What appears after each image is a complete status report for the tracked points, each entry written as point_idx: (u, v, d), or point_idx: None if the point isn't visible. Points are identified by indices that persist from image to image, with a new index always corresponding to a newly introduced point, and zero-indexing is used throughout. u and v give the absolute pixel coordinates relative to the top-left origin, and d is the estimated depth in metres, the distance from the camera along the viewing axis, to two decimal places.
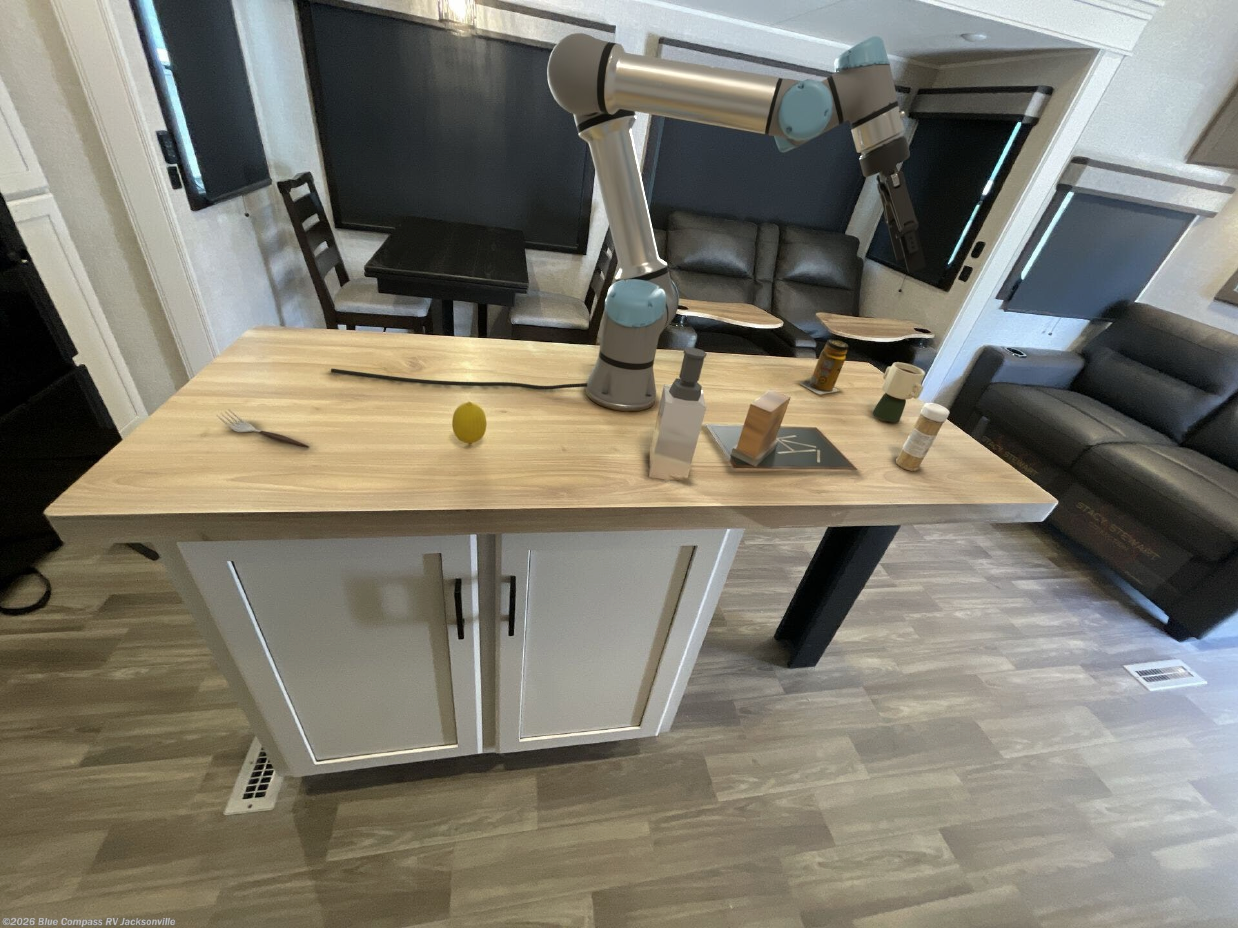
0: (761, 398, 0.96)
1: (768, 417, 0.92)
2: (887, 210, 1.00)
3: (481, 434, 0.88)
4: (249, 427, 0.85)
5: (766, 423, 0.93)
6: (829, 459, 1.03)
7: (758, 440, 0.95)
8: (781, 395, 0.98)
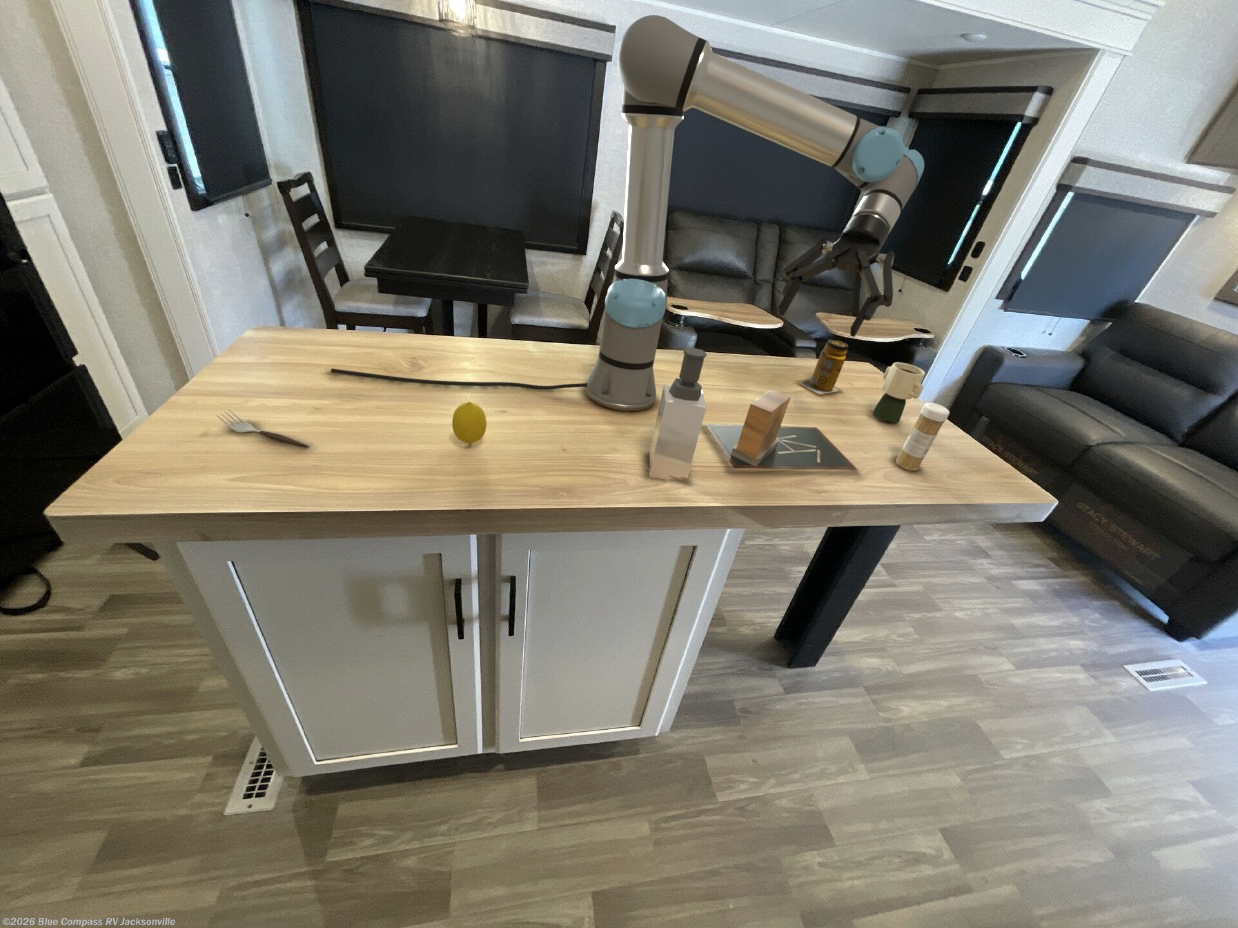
0: (761, 398, 0.96)
1: (768, 417, 0.92)
2: (816, 267, 0.99)
3: (481, 434, 0.88)
4: (249, 427, 0.85)
5: (766, 423, 0.93)
6: (829, 459, 1.03)
7: (758, 440, 0.95)
8: (781, 395, 0.98)
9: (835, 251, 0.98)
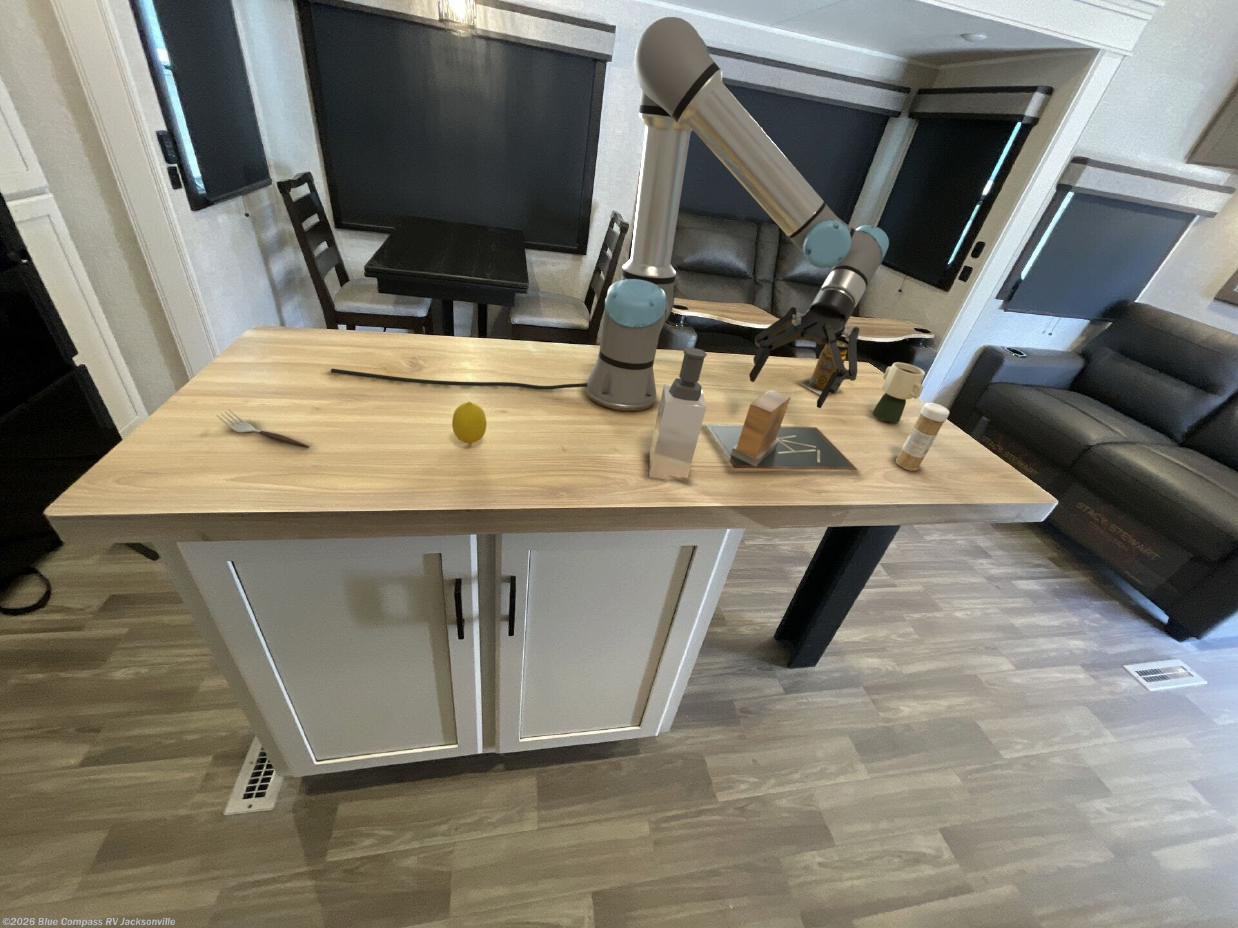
0: (761, 398, 0.96)
1: (768, 417, 0.92)
2: (786, 337, 1.02)
3: (481, 434, 0.88)
4: (249, 427, 0.85)
5: (766, 423, 0.93)
6: (829, 459, 1.03)
7: (758, 440, 0.95)
8: (781, 395, 0.98)
9: (804, 323, 1.01)
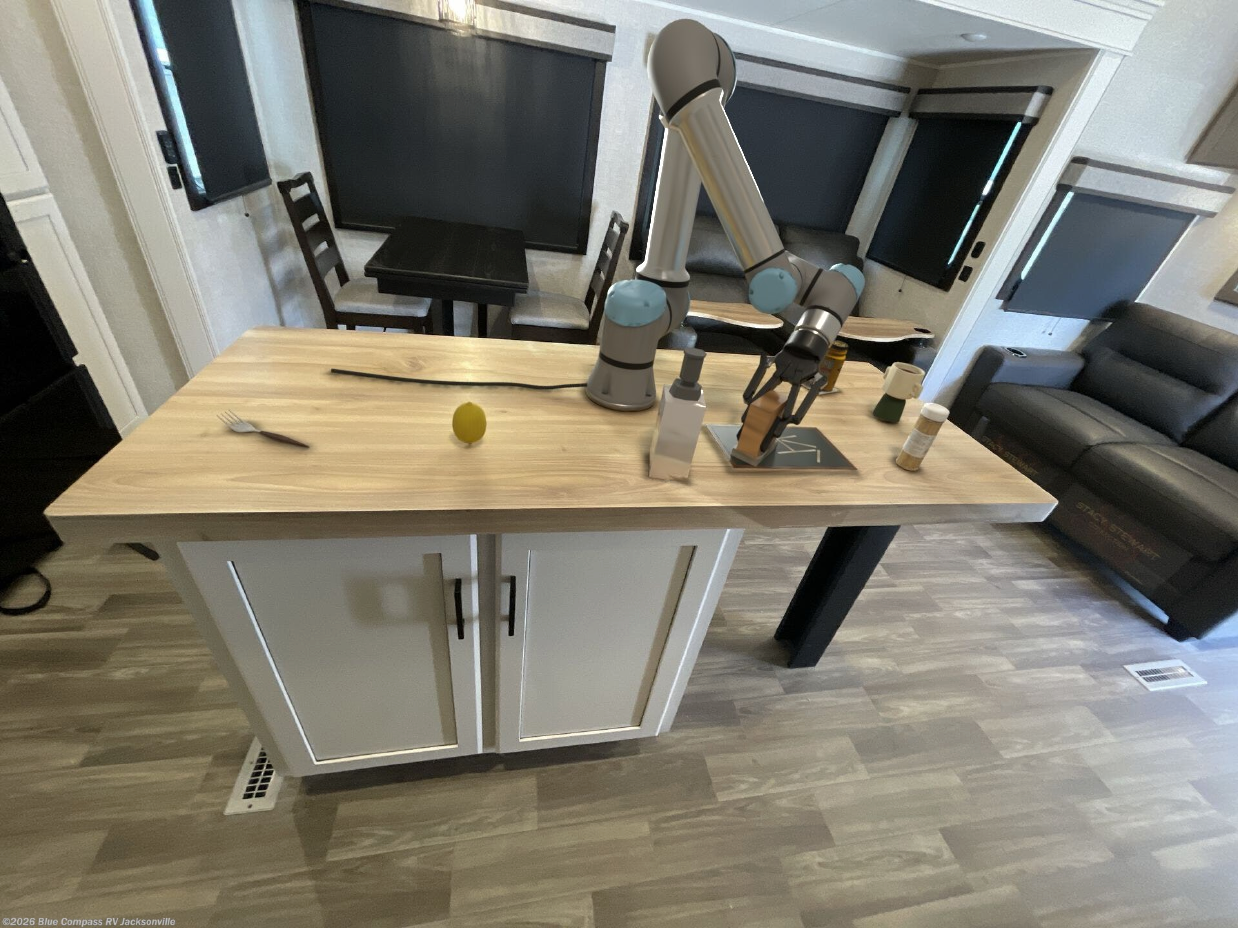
0: (761, 398, 0.96)
1: (768, 417, 0.92)
2: (769, 387, 0.98)
3: (481, 434, 0.88)
4: (249, 427, 0.85)
5: (766, 423, 0.93)
6: (829, 459, 1.03)
7: (758, 440, 0.95)
8: (781, 395, 0.98)
9: (779, 368, 0.98)
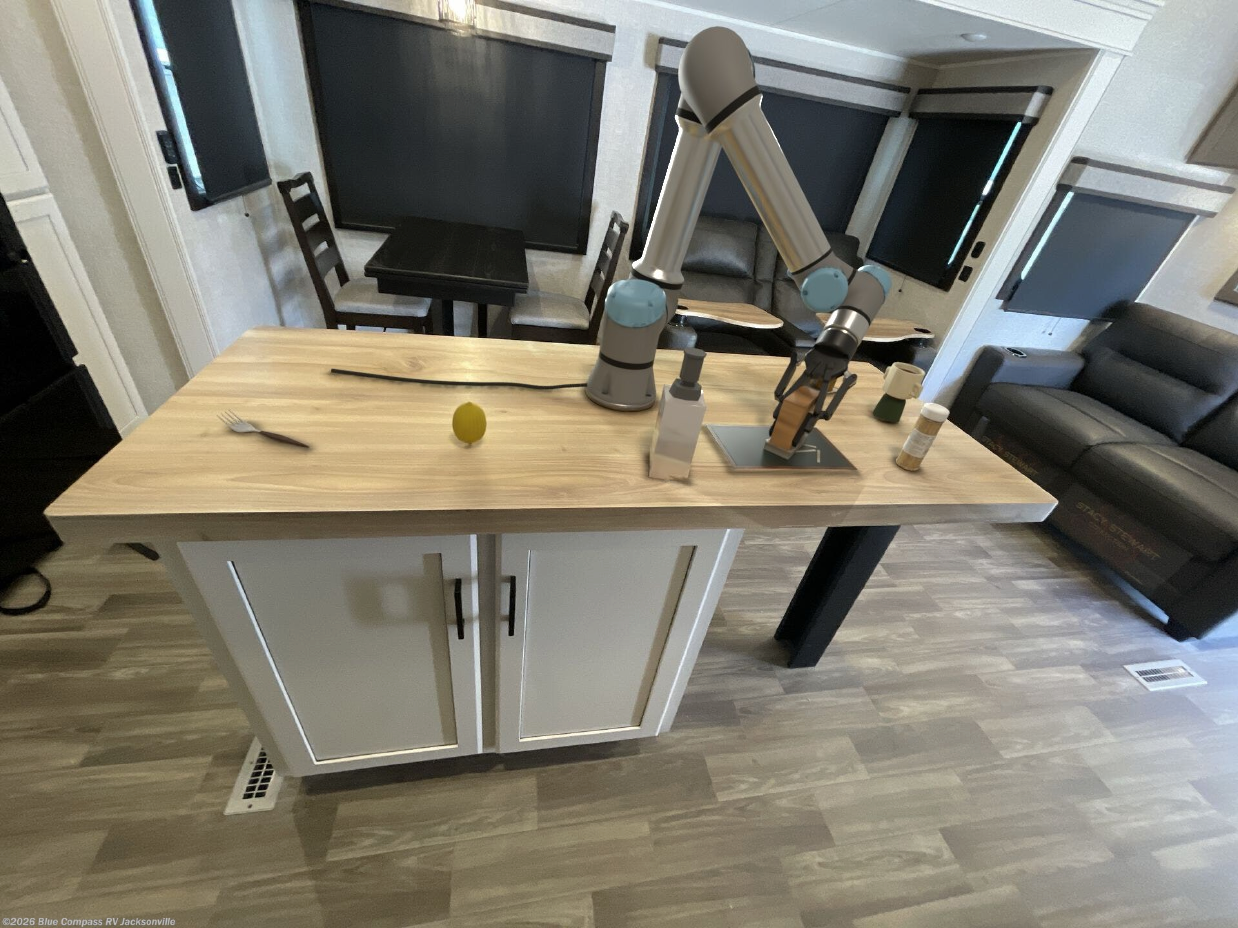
0: (793, 394, 0.99)
1: (801, 412, 0.96)
2: (800, 385, 1.02)
3: (481, 434, 0.88)
4: (249, 427, 0.85)
5: (799, 418, 0.96)
6: (829, 459, 1.03)
7: (791, 434, 0.98)
8: (812, 391, 1.02)
9: (810, 366, 1.02)
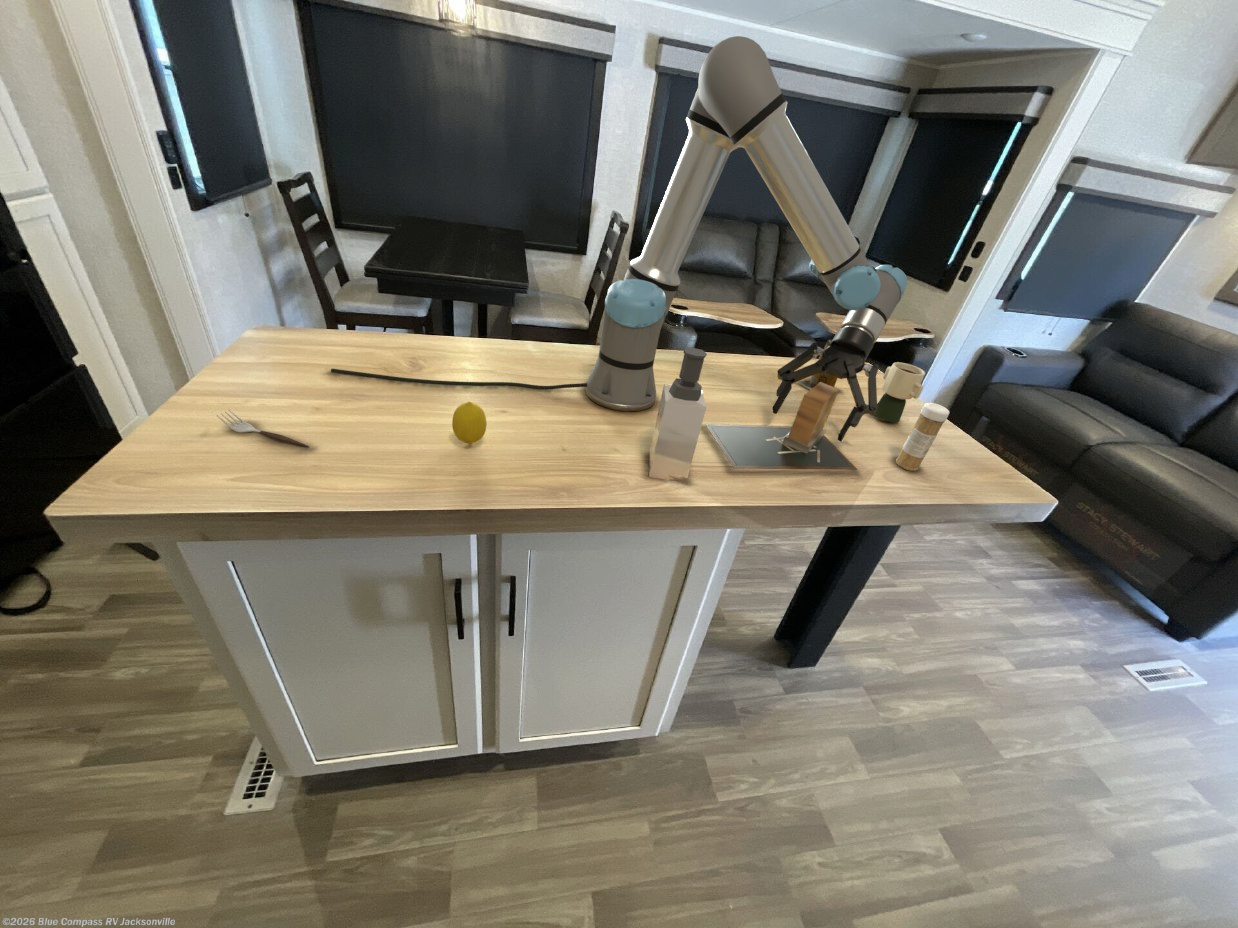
0: (812, 390, 1.02)
1: (821, 407, 0.99)
2: (807, 371, 1.07)
3: (481, 434, 0.88)
4: (249, 427, 0.85)
5: (819, 413, 0.99)
6: (829, 459, 1.03)
7: (810, 429, 1.02)
8: (830, 388, 1.05)
9: (825, 358, 1.06)
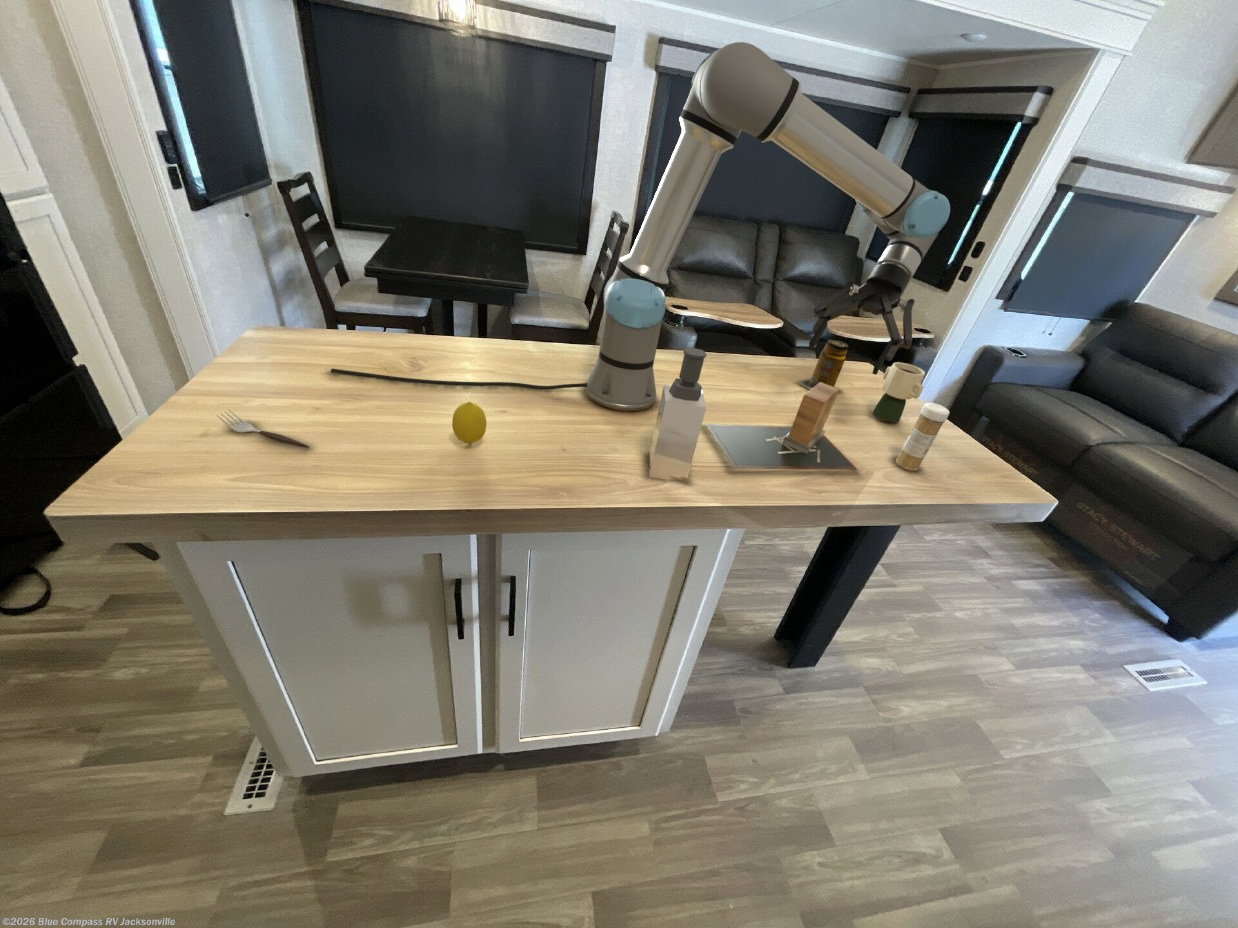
0: (812, 390, 1.02)
1: (821, 407, 0.99)
2: (844, 308, 1.10)
3: (481, 434, 0.88)
4: (249, 427, 0.85)
5: (819, 413, 0.99)
6: (829, 459, 1.03)
7: (810, 429, 1.02)
8: (830, 388, 1.05)
9: (861, 295, 1.09)
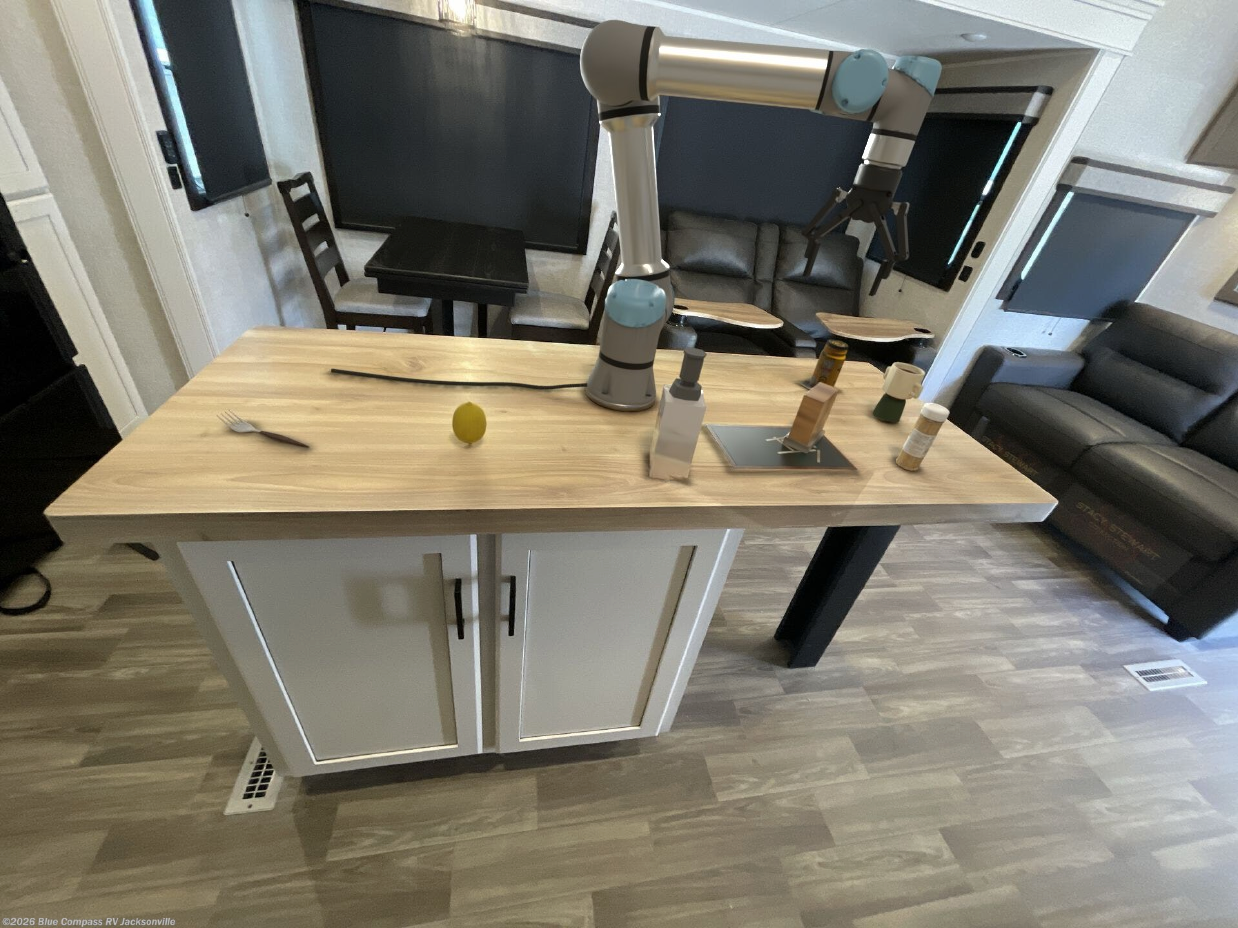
0: (812, 390, 1.02)
1: (821, 407, 0.99)
2: (832, 227, 1.02)
3: (481, 434, 0.88)
4: (249, 427, 0.85)
5: (819, 413, 0.99)
6: (829, 459, 1.03)
7: (810, 429, 1.02)
8: (830, 388, 1.05)
9: (848, 209, 0.99)
